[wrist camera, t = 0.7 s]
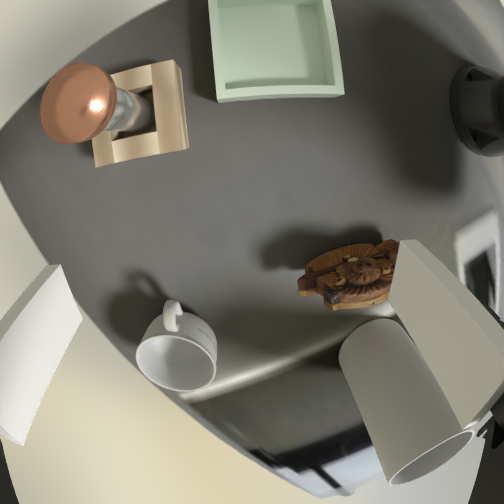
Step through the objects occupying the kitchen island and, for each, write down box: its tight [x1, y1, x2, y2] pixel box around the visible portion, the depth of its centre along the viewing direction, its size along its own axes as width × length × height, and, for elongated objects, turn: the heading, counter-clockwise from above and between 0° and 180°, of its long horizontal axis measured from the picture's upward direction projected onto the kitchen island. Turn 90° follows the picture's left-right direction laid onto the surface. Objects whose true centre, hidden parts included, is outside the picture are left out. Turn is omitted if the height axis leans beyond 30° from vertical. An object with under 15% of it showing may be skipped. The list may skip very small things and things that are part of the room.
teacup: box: [136, 300, 217, 392], centre depth 38 cm, size 14×11×8 cm
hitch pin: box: [40, 63, 156, 144], centre depth 22 cm, size 6×6×17 cm
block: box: [92, 60, 189, 167], centre depth 28 cm, size 10×10×5 cm
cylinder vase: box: [339, 319, 475, 486], centre depth 35 cm, size 12×12×25 cm
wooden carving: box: [297, 239, 400, 311], centre depth 35 cm, size 16×5×10 cm, turn 108°
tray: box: [208, 0, 345, 103], centre depth 27 cm, size 14×14×4 cm
